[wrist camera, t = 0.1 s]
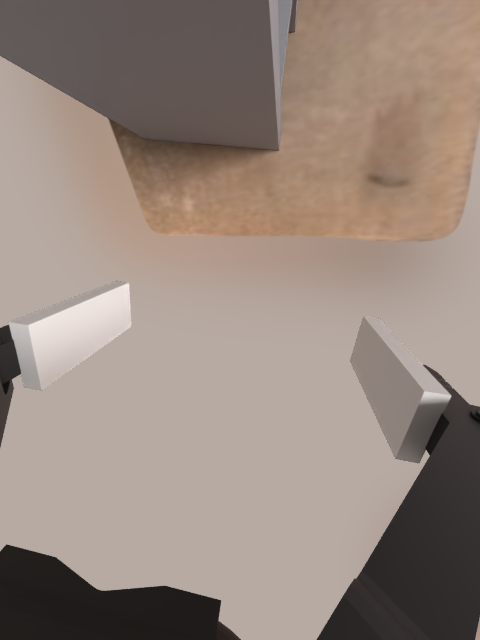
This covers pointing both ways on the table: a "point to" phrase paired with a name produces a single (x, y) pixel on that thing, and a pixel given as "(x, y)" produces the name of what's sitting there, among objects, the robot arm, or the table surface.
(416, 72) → the table surface
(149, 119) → the shelf
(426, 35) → the table surface
